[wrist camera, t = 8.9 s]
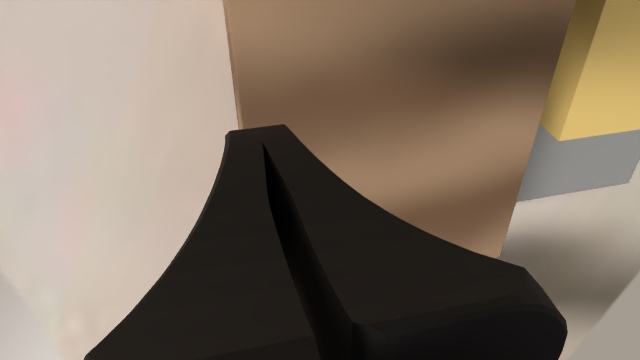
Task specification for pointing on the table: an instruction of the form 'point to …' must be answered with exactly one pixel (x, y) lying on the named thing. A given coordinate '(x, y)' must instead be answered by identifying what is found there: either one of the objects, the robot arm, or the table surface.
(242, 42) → the deck
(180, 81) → the table surface
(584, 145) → the mat
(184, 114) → the table surface
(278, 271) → the robot arm
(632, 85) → the yellow rectangular block
